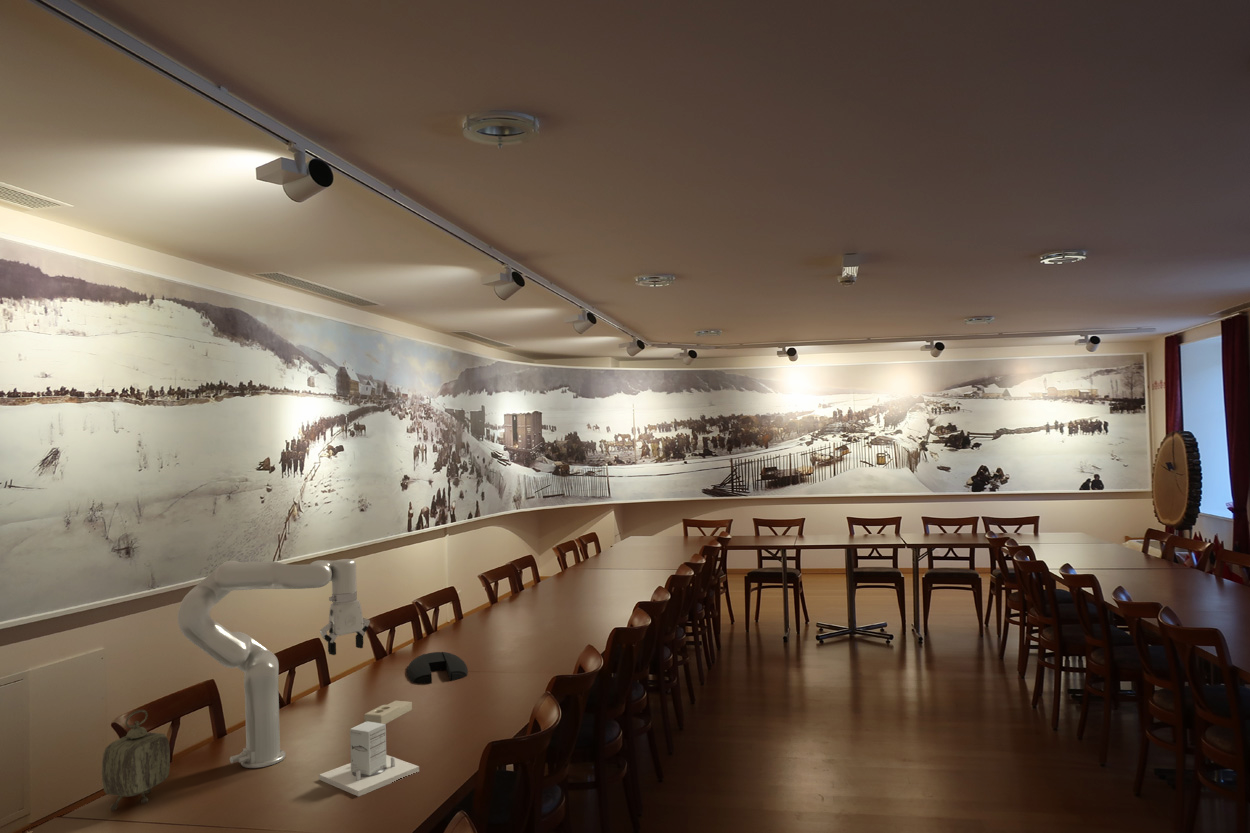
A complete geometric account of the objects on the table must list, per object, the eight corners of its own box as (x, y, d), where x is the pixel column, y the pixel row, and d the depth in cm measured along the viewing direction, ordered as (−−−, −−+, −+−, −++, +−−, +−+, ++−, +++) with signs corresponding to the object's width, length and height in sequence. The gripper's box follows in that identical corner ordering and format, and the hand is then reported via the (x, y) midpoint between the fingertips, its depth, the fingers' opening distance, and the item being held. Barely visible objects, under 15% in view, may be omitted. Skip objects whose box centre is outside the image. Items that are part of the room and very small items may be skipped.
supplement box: (350, 772, 230) (348, 728, 231) (368, 763, 237) (367, 720, 237) (369, 776, 227) (367, 731, 227) (387, 766, 233) (386, 723, 234)
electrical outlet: (411, 699, 291) (381, 715, 274) (412, 710, 291) (381, 727, 274) (395, 698, 294) (363, 713, 277) (395, 709, 293) (364, 725, 276)
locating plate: (358, 796, 218) (358, 781, 218) (319, 779, 230) (319, 765, 230) (419, 771, 233) (418, 757, 233) (379, 757, 246) (379, 743, 246)
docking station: (460, 656, 366) (460, 645, 367) (472, 679, 328) (471, 667, 328) (404, 662, 359) (404, 651, 359) (409, 687, 320) (409, 675, 320)
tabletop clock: (148, 790, 228) (147, 701, 229) (173, 792, 225) (172, 703, 226) (102, 813, 214) (101, 718, 215) (128, 816, 211) (127, 720, 212)
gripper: (326, 603, 249) (327, 658, 249) (374, 594, 263) (376, 646, 262) (313, 601, 254) (315, 655, 253) (361, 592, 267) (363, 643, 267)
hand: (346, 651), depth 258 cm, fingers open, 9 cm apart
